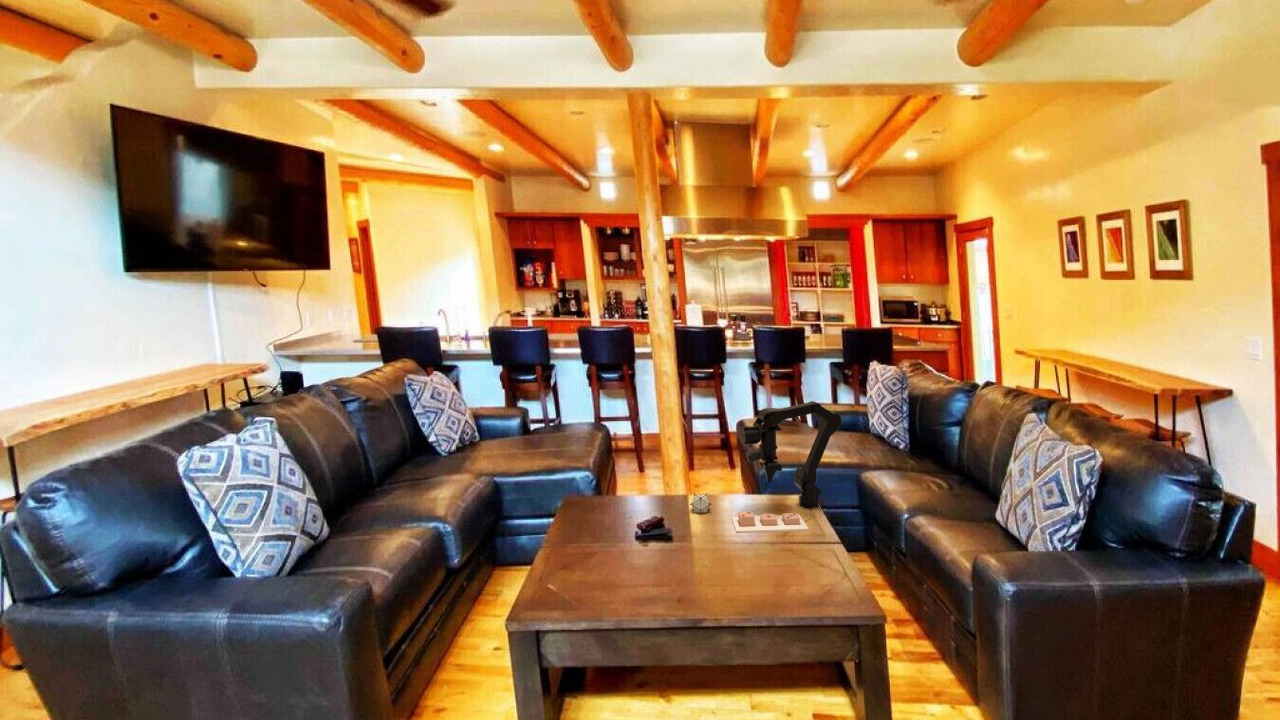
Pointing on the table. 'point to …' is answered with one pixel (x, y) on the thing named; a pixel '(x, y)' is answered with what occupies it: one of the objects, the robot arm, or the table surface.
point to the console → (760, 528)
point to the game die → (700, 503)
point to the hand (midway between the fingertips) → (769, 482)
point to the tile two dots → (746, 519)
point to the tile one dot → (768, 519)
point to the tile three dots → (791, 519)
